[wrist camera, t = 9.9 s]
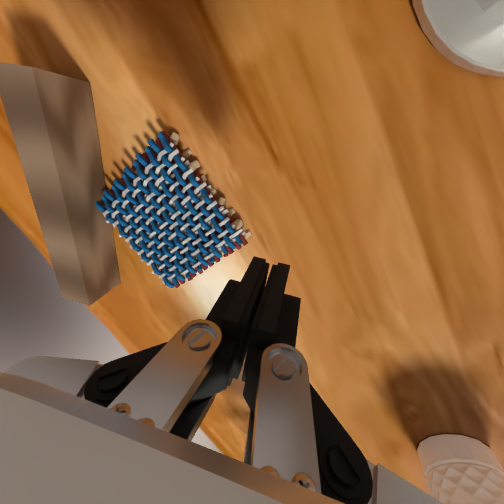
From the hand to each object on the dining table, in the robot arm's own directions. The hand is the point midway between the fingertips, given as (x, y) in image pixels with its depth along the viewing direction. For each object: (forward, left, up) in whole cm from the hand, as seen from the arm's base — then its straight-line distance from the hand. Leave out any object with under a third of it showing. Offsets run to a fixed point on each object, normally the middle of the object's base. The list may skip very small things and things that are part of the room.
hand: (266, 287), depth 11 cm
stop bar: (+1, -18, -9) cm, 20 cm away
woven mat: (+2, -9, -9) cm, 13 cm away
